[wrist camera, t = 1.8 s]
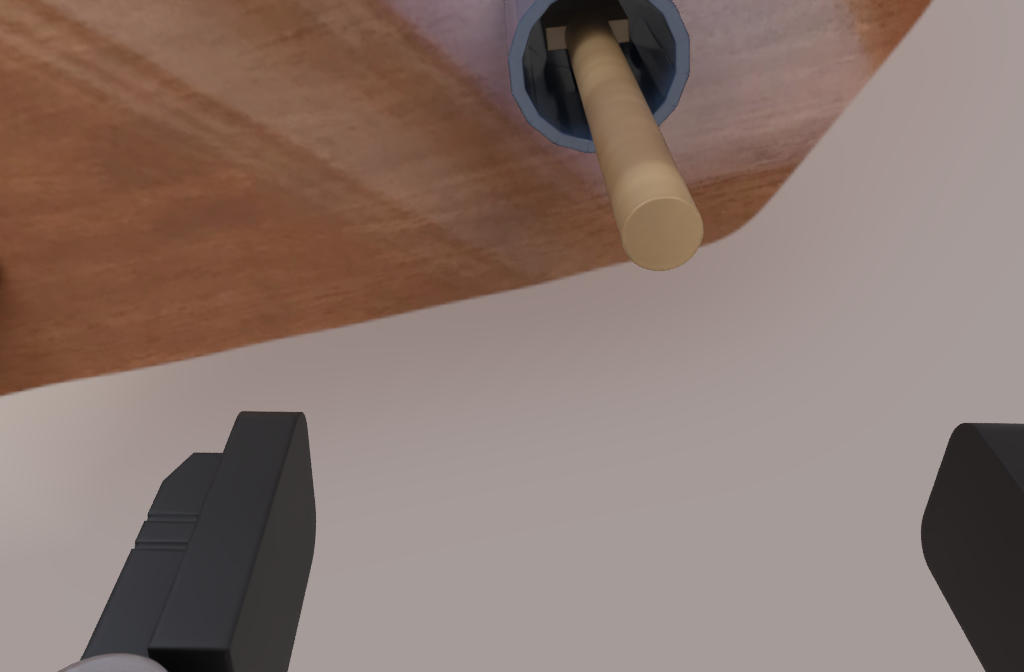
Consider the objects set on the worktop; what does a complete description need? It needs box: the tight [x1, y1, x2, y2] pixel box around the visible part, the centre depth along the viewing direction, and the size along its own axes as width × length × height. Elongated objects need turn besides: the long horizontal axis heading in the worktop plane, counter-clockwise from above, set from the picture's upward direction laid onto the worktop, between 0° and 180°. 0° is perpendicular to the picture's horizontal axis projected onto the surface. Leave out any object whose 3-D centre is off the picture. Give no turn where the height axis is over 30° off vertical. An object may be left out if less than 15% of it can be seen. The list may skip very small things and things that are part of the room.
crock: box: [504, 0, 690, 153], centre depth 36 cm, size 6×6×10 cm
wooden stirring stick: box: [541, 0, 704, 271], centre depth 30 cm, size 3×2×23 cm, turn 96°
